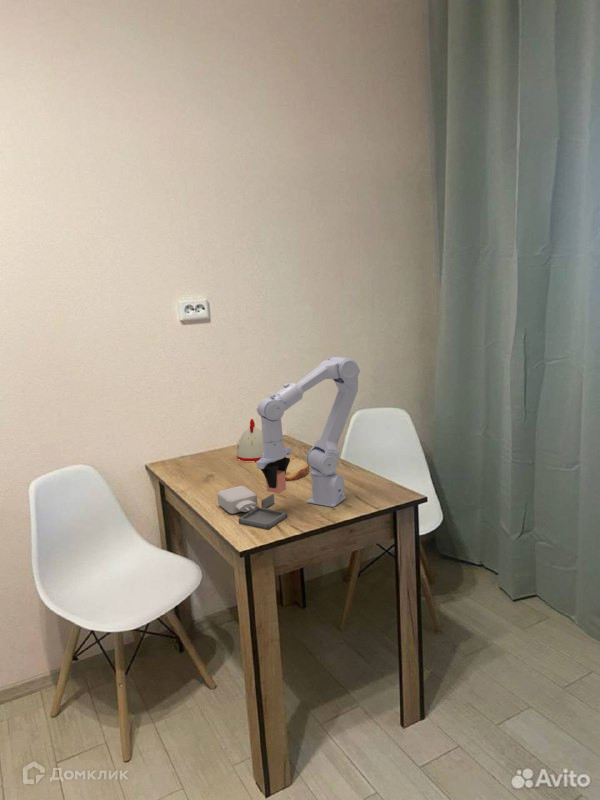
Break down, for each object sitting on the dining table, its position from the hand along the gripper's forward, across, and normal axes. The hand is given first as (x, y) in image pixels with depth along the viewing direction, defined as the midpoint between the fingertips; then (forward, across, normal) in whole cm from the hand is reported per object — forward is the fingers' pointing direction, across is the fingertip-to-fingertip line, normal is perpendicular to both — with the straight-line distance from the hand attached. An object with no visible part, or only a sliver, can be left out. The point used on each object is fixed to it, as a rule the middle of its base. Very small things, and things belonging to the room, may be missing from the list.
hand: (276, 485), depth 169 cm
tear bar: (+8, -2, -5) cm, 10 cm away
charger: (+8, +3, -11) cm, 14 cm away
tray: (+8, +7, 0) cm, 11 cm away
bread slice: (+9, -33, -18) cm, 38 cm away
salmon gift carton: (+2, 0, 0) cm, 2 cm away
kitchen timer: (+9, -42, -40) cm, 59 cm away
